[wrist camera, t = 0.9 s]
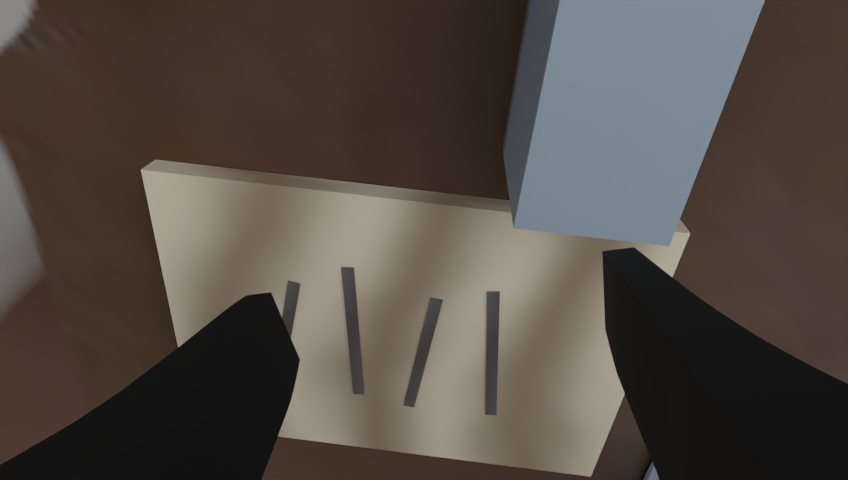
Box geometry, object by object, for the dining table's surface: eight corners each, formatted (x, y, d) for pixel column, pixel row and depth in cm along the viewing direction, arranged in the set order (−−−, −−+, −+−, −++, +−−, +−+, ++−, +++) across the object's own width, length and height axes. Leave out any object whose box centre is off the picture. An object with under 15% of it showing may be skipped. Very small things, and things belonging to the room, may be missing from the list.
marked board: (680, 220, 19) (690, 234, 18) (586, 459, 26) (591, 477, 25) (155, 159, 20) (139, 170, 19) (203, 410, 27) (194, 426, 26)
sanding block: (693, -111, 14) (817, -137, 9) (614, 159, 18) (669, 246, 13) (548, -125, 14) (592, -160, 9) (502, 147, 18) (513, 228, 13)
